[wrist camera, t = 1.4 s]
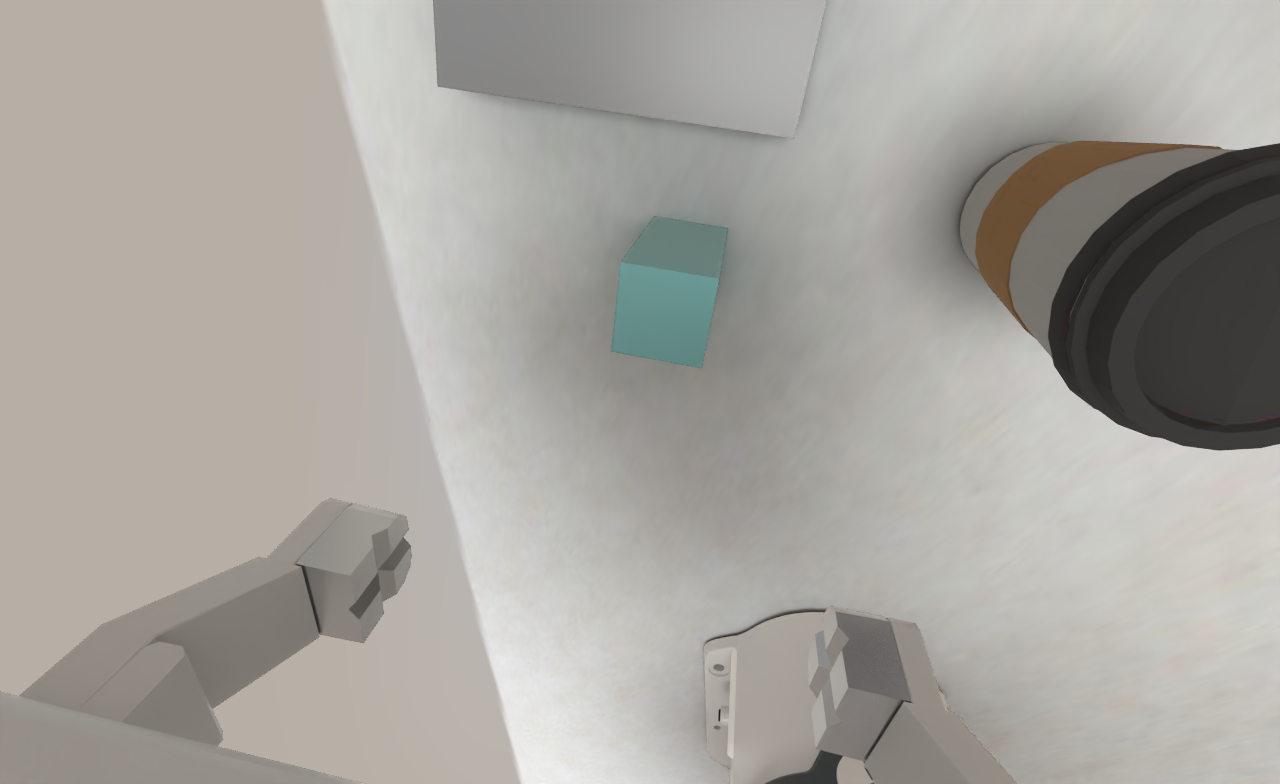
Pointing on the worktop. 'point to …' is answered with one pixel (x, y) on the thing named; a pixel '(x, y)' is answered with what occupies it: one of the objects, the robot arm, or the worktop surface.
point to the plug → (669, 291)
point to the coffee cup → (1144, 279)
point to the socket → (638, 56)
